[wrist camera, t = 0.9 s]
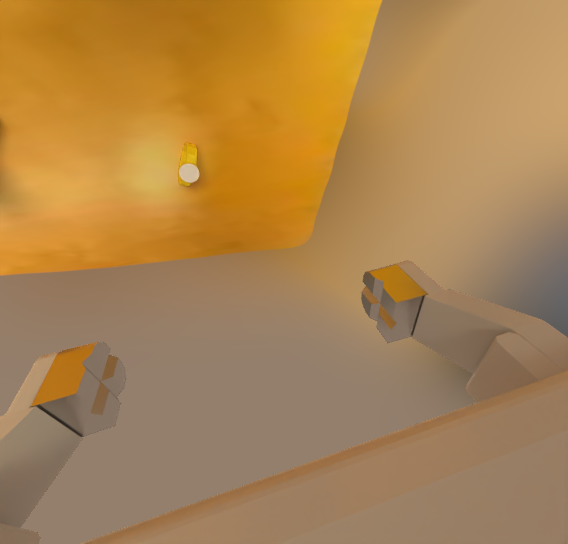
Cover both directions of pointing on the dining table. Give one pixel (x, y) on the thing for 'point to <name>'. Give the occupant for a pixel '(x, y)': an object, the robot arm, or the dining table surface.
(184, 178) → the watch
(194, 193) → the dining table surface
